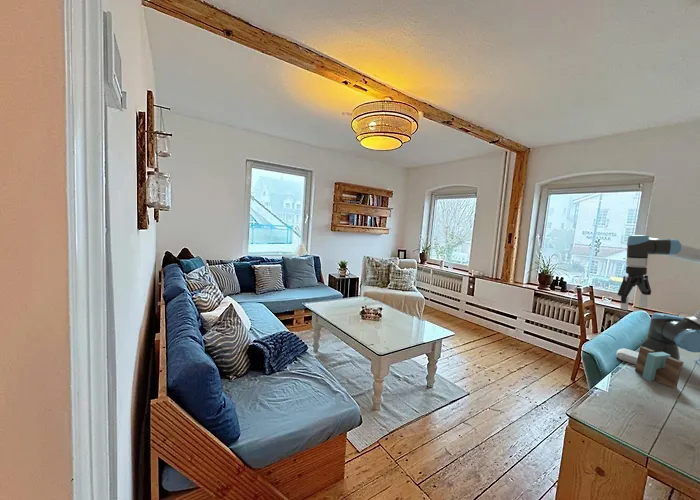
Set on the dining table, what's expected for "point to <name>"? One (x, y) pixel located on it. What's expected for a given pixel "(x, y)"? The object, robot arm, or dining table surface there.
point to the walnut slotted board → (663, 375)
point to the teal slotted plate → (654, 364)
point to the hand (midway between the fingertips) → (633, 308)
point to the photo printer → (627, 355)
